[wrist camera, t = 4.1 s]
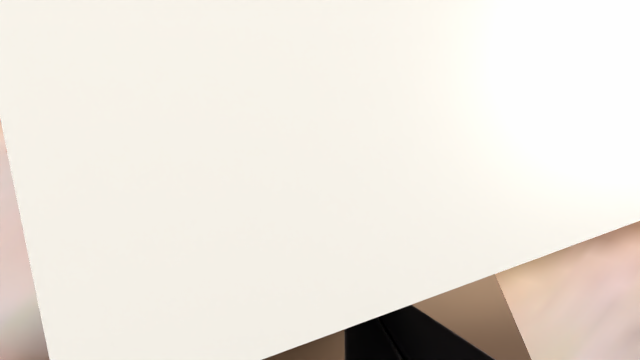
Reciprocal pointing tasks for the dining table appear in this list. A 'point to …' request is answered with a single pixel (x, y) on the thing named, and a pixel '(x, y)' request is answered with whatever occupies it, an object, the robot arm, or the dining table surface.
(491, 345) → the brown flat wooden board
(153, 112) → the white tall block
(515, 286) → the dining table surface
